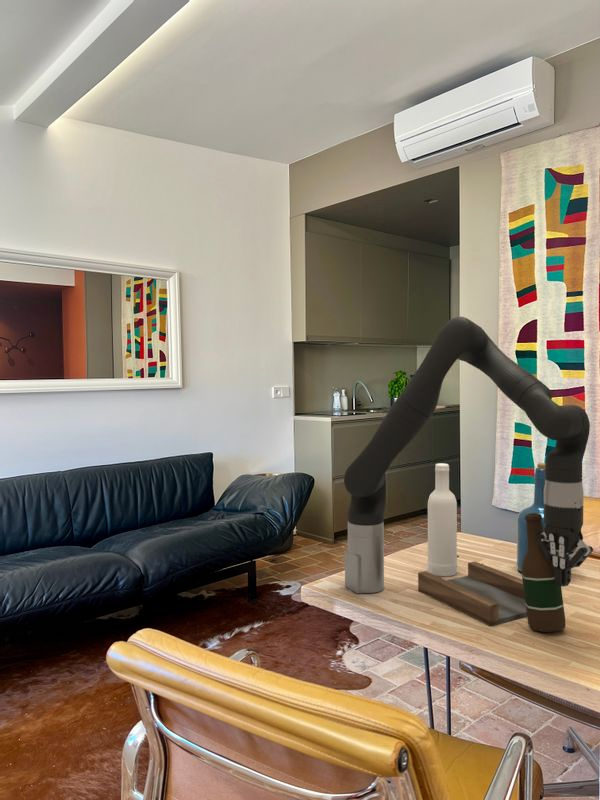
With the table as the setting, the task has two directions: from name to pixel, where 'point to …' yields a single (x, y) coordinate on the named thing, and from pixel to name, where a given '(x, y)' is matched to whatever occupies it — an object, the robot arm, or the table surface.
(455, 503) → the bottle
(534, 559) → the beer bottle
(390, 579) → the table surface
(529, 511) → the wine bottle
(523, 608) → the cradle
